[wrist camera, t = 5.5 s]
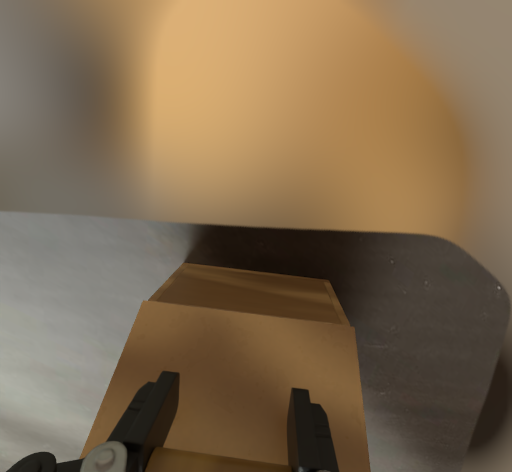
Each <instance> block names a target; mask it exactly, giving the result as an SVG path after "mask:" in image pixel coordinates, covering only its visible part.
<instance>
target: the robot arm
mask: <svg viewBox="0 0 512 472" xmlns="http://www.w3.org/2000/svg"><path fill="white" fill-rule="evenodd" d="M179 384H180V373H179V372H171V371H162V372H161V374H160V376H159V378H158V379H157V381H156V382H149V381H148V382H147V383H146V384H145V385H143V386H142V387H141V388H140V389H138V391H137V393H136V394H135V396H134V397H133V399H132V401H131V402H130V404H129V405H128V407H127V410H125V412H124V413H123V415H122V417H121V418H120V420H119V421H118V423H117V425H116V426H115V428H114V429H113V431H112V433H111V434H110V436H109V437H108V439H107V441H106V442H104V443H102V444H100V445H98V446H96V447H95V448H93V449H92V450H91V451H90V452H89V453H88V454H87V455H86V457H85V458H82V459H78V460H73V461H68V462H62V463H57V464H56V458H55V456H54V455H53V454H51V453H49V452H38V453H34V454H31V455H29V456H27V457H25V458H23V459H21V460H20V461H18V462H17V463H16V464H14V465H13V466H12V467H11V468H10V469H9V470H8V471H6V472H145V469H146V466H147V463H148V460H149V458H150V456H151V454H152V452H153V450H154V449H155V448H156V447H163V446H164V443H165V441H166V438H167V436H168V433H169V431H170V428H171V426H172V423H173V421H174V419H175V416H176V413H177V409H178V403H179ZM287 449H288V466H291V467H292V470H293V472H339V468H338V463H337V459H336V454H335V449H334V445H333V440H332V438H331V431H330V428H329V422H328V417H327V414H326V412H325V411H324V409H323V408H322V406H321V405H320V404H316V403H311V401H310V395H309V390H308V389H301V388H293V387H292V389H291V394H290V401H289V408H288V415H287Z"/></svg>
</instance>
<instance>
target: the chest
mask: <svg viewBox="0 0 512 472" xmlns="http://www.w3.org/2000/svg"><path fill="white" fill-rule="evenodd" d="M148 301H152V302H160V303H168V304H176V305H184V306H191V307H199V308H207V309H215V310H223V311H231V312H239V313H247V314H255V315H263V316H271V317H279V318H287V319H295V320H303V321H311V322H318V323H326V324H334V325H342V326H350V324H349V322H348V320H347V317H346V315H345V313H344V311H343V309H342V307H341V305H340V303H339V301H338V299H337V296H336V294H335V292H334V290H333V288H332V286H331V284H330V282H329V280H325V279H316V278H308V277H300V276H292V275H283V274H275V273H267V272H258V271H250V270H242V269H233V268H225V267H217V266H208V265H200V264H192V263H183V264H182V265H181V266H180V267H179V268H178V269H177V270H176V271H175V272H174V273H173V274H172V275H171V276H170V277H169V279H168V280H167V281H166V282H165V283H164V284H163V285H162V286H161V287H160V288H159V289H158V290H157V291H156V292H155V293H154V294H153V295H152V296H151V297H150V298H149V300H148Z"/></svg>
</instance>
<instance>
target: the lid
mask: <svg viewBox="0 0 512 472" xmlns="http://www.w3.org/2000/svg"><path fill="white" fill-rule="evenodd" d="M162 371H171V372H179V373H180V384H179V403H178V409H177V413H176V416H175V419H174V421H173V423H172V426H171V428H170V431H169V433H168V436H167V438H166V441H165V443H164V446H163V447H156V448H155V449H154V450H153V452H152V454H151V456H150V458H149V460H148V463H147V466H146V469H145V472H293V470H292V467H291V466H288V449H287V415H288V408H289V401H290V394H291V389H292V387H293V388H301V389H308V390H309V395H310V401H311V403H316V404H320V405H321V406H322V408H323V409H324V411H325V412H326V414H327V417H328V422H329V428H330V431H331V438H332V440H333V445H334V449H335V454H336V459H337V463H338V468H339V472H371V471H370V462H369V453H368V444H367V435H366V426H365V417H364V408H363V399H362V390H361V381H360V372H359V363H358V355H357V346H356V337H355V328H354V327H350V326H342V325H334V324H326V323H318V322H311V321H303V320H295V319H287V318H279V317H271V316H263V315H255V314H247V313H239V312H231V311H223V310H215V309H207V308H199V307H191V306H184V305H176V304H168V303H160V302H152V301H143V302H142V304H141V307H140V309H139V312H138V314H137V317H136V319H135V322H134V324H133V327H132V329H131V332H130V334H129V337H128V339H127V342H126V344H125V347H124V349H123V352H122V354H121V357H120V359H119V362H118V364H117V367H116V369H115V372H114V374H113V376H112V379H111V381H110V384H109V386H108V389H107V391H106V394H105V396H104V399H103V401H102V404H101V406H100V409H99V411H98V414H97V416H96V419H95V421H94V424H93V426H92V429H91V431H90V434H89V436H88V439H87V441H86V444H85V446H84V449H83V451H82V454H81V456H80V459H82V458H85V457H86V455H87V454H88V453H89V452H90V451H91V450H92V449H93V448H95V447H96V446H98V445H100V444H102V443H104V442H106V441H107V439H108V437H109V436H110V434H111V433H112V431H113V429H114V428H115V426H116V425H117V423H118V421H119V420H120V418H121V417H122V415H123V413H124V412H125V410H127V407H128V405H129V404H130V402H131V401H132V399H133V397H134V396H135V394H136V393H137V391H138V389H140V388H141V387H142V386H143V385H145V384H146V383H147V382H148V381H149V382H156V381H157V379H158V378H159V376H160V374H161V372H162Z"/></svg>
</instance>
